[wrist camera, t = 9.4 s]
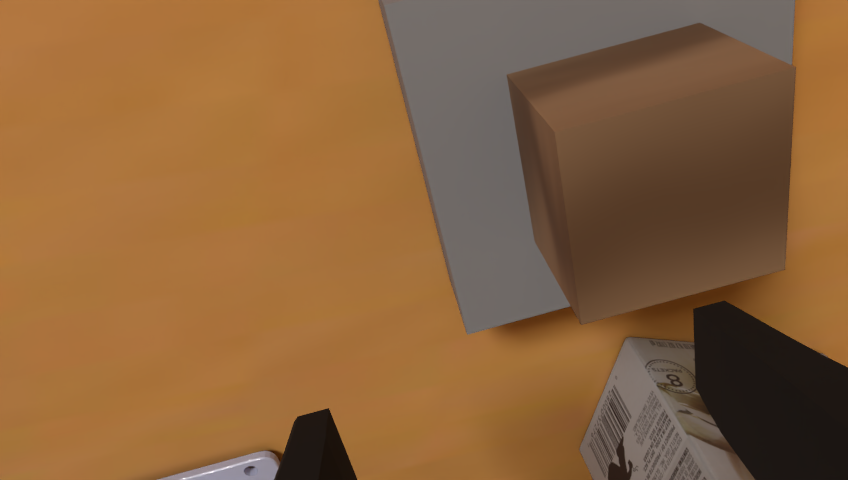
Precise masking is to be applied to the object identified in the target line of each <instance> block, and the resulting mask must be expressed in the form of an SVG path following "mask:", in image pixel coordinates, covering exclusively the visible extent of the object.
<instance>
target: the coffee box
mask: <svg viewBox="0 0 848 480" xmlns="http://www.w3.org/2000/svg"><path fill="white" fill-rule="evenodd" d="M820 354H822V355H824V354H823V353H820ZM824 356H826V355H824ZM826 357H827V356H826ZM580 452H581V455H582V457H583V459H584V461H585V463H586V465H587V467H588V469H589V472H590V474H591V476H592V479H593V480H755V479H754V477H753V476H752V475H751V473H750V472H749V471H748V469H747V468H746V467H745V465H744V464H743V462H742V461H741V460H740V458H739V457H738V456H737V454H736V453H735V452H734V450H733V449H732V447H731V446H730V445H729V443H728V442H727V441H726V439H725V438H724V436H723V435H722V434H721V432H720V430H719V428H718V427H717V425H716V423H715V422H714V420H713V418H712V416H711V415H710V413H709V411H708V409H707V407H706V406H705V404H704V402H703V400H702V398H701V396H700V395H699V393H698V391H697V389H696V384H695V349H694V342H683V341H672V340H660V339H648V338H636V337H628V338H626V339H625V341H624V343H623V346H622V348H621V350H620V353H619V355H618V358H617V360H616V362H615V365H614V367H613V370H612V372H611V374H610V377H609V379H608V381H607V384H606V386H605V388H604V391H603V393H602V396H601V398H600V400H599V403H598V405H597V408H596V410H595V412H594V415H593V417H592V420H591V422H590V425H589V427H588V429H587V432H586V434H585V437H584V439H583V441H582V444H581V446H580Z"/></svg>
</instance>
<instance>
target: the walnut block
mask: <svg viewBox="0 0 848 480" xmlns="http://www.w3.org/2000/svg"><path fill="white" fill-rule="evenodd" d="M795 74H796V67H794V66H792V65H790V64H788V63H786V62H784V61H781V60H779V59H777V58H775V57H773V56H771V55H769V54H766V53H764V52H762V51H760V50H758V49H756V48H754V47H751V46H749V45H747V44H745V43H743V42H741V41H739V40H736V39H734V38H732V37H730V36H728V35H726V34H724V33H721V32H719V31H717V30H715V29H713V28H711V27H708V26H706V25H704V24H702V23H696V24H693V25H689V26H685V27H682V28H678V29H674V30H670V31H667V32H663V33H659V34H655V35H652V36H648V37H644V38H641V39H637V40H633V41H629V42H626V43H622V44H618V45H615V46H611V47H607V48H603V49H600V50H596V51H592V52H588V53H585V54H581V55H577V56H574V57H570V58H566V59H562V60H559V61H555V62H551V63H548V64H544V65H540V66H536V67H533V68H529V69H525V70H521V71H518V72H514V73H510V74H507V80H508V86H509V92H510V98H511V104H512V110H513V116H514V122H515V128H516V134H517V140H518V146H519V152H520V158H521V164H522V170H523V175H524V181H525V187H526V193H527V199H528V205H529V211H530V217H531V223H532V229H533V235H534V241H535V243H536V245H537V247H538V248H539V250H540V252H541V254H542V255H543V257H544V259H545V261H546V263H547V264H548V266H549V268H550V270H551V272H552V273H553V275H554V277H555V279H556V281H557V282H558V284H559V286H560V288H561V290H562V291H563V293H564V295H565V297H566V299H567V300H568V302H569V304H570V306H571V307H572V309H573V311H574V313H575V315H576V316H577V318H578V320H579V322H580V324H581V325H583V324H586V323H590V322H594V321H597V320H601V319H605V318H608V317H612V316H616V315H619V314H623V313H627V312H631V311H634V310H638V309H642V308H645V307H649V306H653V305H656V304H660V303H664V302H667V301H671V300H675V299H678V298H682V297H686V296H689V295H693V294H697V293H701V292H704V291H708V290H712V289H715V288H719V287H723V286H726V285H730V284H734V283H737V282H741V281H745V280H748V279H752V278H756V277H760V276H763V275H767V274H771V273H774V272H778V271H782V270H785V259H786V241H787V222H788V204H789V185H790V167H791V148H792V129H793V111H794V92H795Z"/></svg>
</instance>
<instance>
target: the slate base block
mask: <svg viewBox="0 0 848 480" xmlns="http://www.w3.org/2000/svg"><path fill="white" fill-rule="evenodd" d="M379 4H380V8H381V12H382V16H383V20H384V24H385V28H386V32H387V36H388V39H389V43H390V47H391V51H392V55H393V59H394V63H395V67H396V71H397V75H398V78H399V82H400V86H401V90H402V94H403V98H404V102H405V106H406V110H407V114H408V118H409V121H410V125H411V129H412V133H413V137H414V141H415V145H416V149H417V153H418V157H419V160H420V164H421V168H422V172H423V176H424V180H425V184H426V188H427V192H428V196H429V199H430V203H431V207H432V211H433V215H434V219H435V223H436V227H437V231H438V235H439V239H440V242H441V246H442V250H443V254H444V258H445V262H446V266H447V270H448V274H449V278H450V281H451V285H452V288H453V291H454V294H455V297H456V300H457V304H458V307H459V310H460V313H461V316H462V319H463V323H464V326H465V329H466V332H467V334H471V333H475V332H478V331H482V330H486V329H489V328H493V327H497V326H500V325H504V324H508V323H511V322H515V321H519V320H522V319H526V318H529V317H533V316H537V315H540V314H544V313H548V312H551V311H555V310H559V309H562V308H566V307H570V304H569V302H568V300H567V299H566V297H565V295H564V293H563V291H562V290H561V288H560V286H559V284H558V282H557V281H556V279H555V277H554V275H553V273H552V272H551V270H550V268H549V266H548V264H547V263H546V261H545V259H544V257H543V255H542V254H541V252H540V250H539V248H538V247H537V245H536V243H535V241H534V235H533V229H532V223H531V217H530V211H529V205H528V199H527V193H526V187H525V181H524V175H523V170H522V164H521V158H520V152H519V146H518V140H517V134H516V128H515V122H514V116H513V110H512V104H511V98H510V92H509V86H508V80H507V74H510V73H514V72H518V71H521V70H525V69H529V68H533V67H536V66H540V65H544V64H548V63H551V62H555V61H559V60H562V59H566V58H570V57H574V56H577V55H581V54H585V53H588V52H592V51H596V50H600V49H603V48H607V47H611V46H615V45H618V44H622V43H626V42H629V41H633V40H637V39H641V38H644V37H648V36H652V35H655V34H659V33H663V32H667V31H670V30H674V29H678V28H682V27H685V26H689V25H693V24H696V23H702V24H704V25H706V26H708V27H711V28H713V29H715V30H717V31H719V32H721V33H724V34H726V35H728V36H730V37H732V38H734V39H736V40H739V41H741V42H743V43H745V44H747V45H749V46H751V47H754V48H756V49H758V50H760V51H762V52H764V53H766V54H769V55H771V56H773V57H775V58H777V59H779V60H781V61H784V62H786V63H788V64H790V65H792V53H793V32H794V11H795V0H379Z"/></svg>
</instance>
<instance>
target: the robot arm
mask: <svg viewBox="0 0 848 480" xmlns="http://www.w3.org/2000/svg"><path fill="white" fill-rule="evenodd" d="M693 313H694V349H695V384H696V389H697V391H698V393H699V395H700V396H701V398H702V400H703V402H704V404H705V406H706V407H707V409H708V411H709V413H710V415H711V416H712V418H713V420H714V422H715V423H716V425H717V427H718V428H719V430H720V432H721V434H722V435H723V436H724V438H725V439H726V441H727V442H728V443H729V445H730V446H731V447H732V449H733V450H734V452H735V453H736V454H737V456H738V457H739V458H740V460H741V461H742V462H743V464H744V465H745V467H746V468H747V469H748V471H749V472H750V473H751V475H752V476H753V477H754V479H755V480H848V367H846V366H844V365H842V364H840V363H838V362H835V361H833V360H832V359H830V358H828V357H826V356H824V355H822V354H820V353H818V352H816V351H814V350H812V349H810V348H809V347H807V346H805V345H803V344H801V343H799V342H797V341H796V340H794V339H792V338H790V337H788V336H786V335H785V334H783V333H781V332H779V331H778V330H776V329H774V328H772V327H770V326H769V325H767V324H765V323H763V322H761V321H760V320H758V319H756V318H754V317H753V316H751V315H749V314H747V313H746V312H744V311H742V310H740V309H738V308H737V307H735V306H733V305H731V304H729V303H727V302H726V301H721V302H717V303H714V304H710V305H706V306H703V307H699V308H695V309H693ZM248 466H254V467H255V468H249V467H248ZM158 480H357V478H356V475H355V473H354V470H353V468H352V465H351V463H350V460H349V458H348V455H347V453H346V450H345V448H344V445H343V443H342V440H341V438H340V435H339V433H338V430H337V428H336V425H335V423H334V420H333V418H332V415H331V413H330V410H329V408H328V409H324V410H321V411H317V412H313V413H310V414H306V415H302V416H299V417H297V419H296V420H295V422H294V424H293V427H292V430H291V433H290V436H289V439H288V442H287V445H286V448H285V451H284V454H283V457H282V460H281V462H280V461H279V459H278V457H277V456H276V455H275V454H274V453H272V452H270V451H260V452H256V453H253V454H249V455H245V456H242V457H238V458H234V459H231V460H227V461H223V462H220V463H216V464H213V465H209V466H205V467H202V468H198V469H194V470H191V471H187V472H183V473H180V474H176V475H172V476H169V477H165V478H162V479H158Z"/></svg>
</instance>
